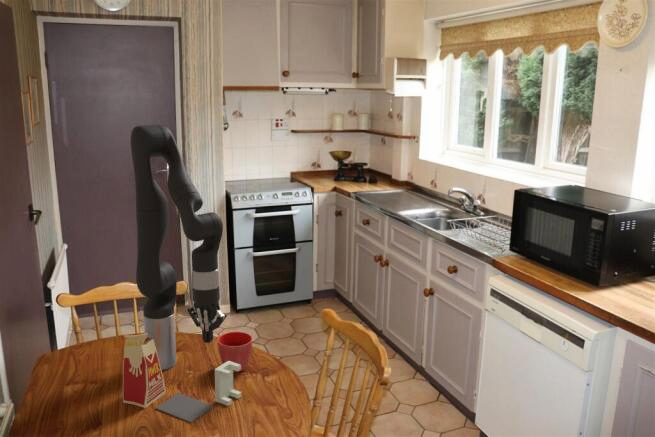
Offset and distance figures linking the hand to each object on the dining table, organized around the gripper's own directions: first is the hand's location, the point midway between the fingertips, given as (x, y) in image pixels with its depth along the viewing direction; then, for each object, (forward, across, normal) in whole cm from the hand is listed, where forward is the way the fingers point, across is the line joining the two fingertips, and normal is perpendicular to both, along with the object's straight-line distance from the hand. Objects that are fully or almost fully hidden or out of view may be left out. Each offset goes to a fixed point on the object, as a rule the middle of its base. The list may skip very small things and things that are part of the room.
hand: (208, 341), depth 163 cm
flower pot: (+16, -3, +16) cm, 23 cm away
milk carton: (+16, -14, -12) cm, 25 cm away
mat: (+16, 0, -10) cm, 19 cm away
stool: (+16, +7, 0) cm, 17 cm away
